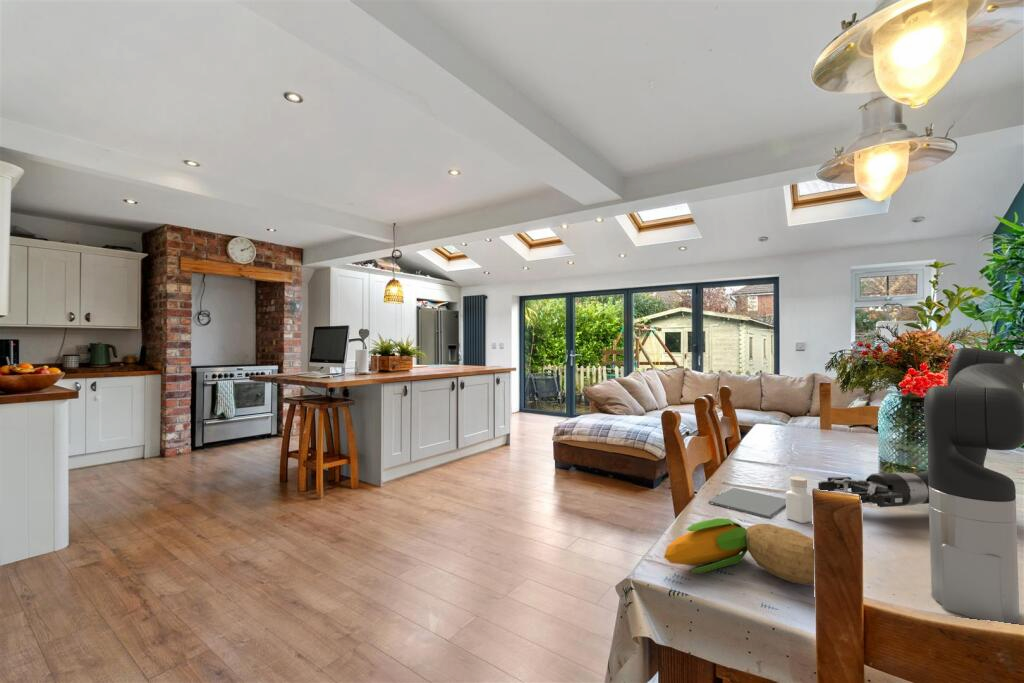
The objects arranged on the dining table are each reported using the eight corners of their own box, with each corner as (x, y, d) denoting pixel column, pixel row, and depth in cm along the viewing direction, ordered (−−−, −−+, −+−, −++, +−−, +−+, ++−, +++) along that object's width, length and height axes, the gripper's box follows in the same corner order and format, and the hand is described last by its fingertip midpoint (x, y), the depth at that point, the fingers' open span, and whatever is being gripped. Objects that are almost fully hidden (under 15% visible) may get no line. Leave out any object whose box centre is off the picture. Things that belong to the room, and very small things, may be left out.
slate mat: (769, 518, 102) (769, 515, 102) (708, 503, 112) (708, 500, 112) (790, 502, 112) (790, 499, 113) (733, 489, 123) (733, 487, 123)
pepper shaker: (813, 522, 100) (813, 479, 100) (801, 524, 98) (801, 481, 98) (796, 515, 103) (795, 475, 104) (784, 518, 102) (784, 477, 102)
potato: (766, 554, 84) (766, 512, 84) (847, 591, 71) (846, 541, 71) (730, 564, 80) (729, 520, 80) (808, 605, 67) (807, 552, 67)
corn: (760, 519, 81) (682, 539, 73) (764, 561, 81) (685, 587, 72) (726, 509, 88) (650, 527, 79) (728, 548, 87) (652, 571, 79)
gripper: (867, 465, 111) (809, 467, 109) (927, 482, 97) (862, 485, 95) (868, 495, 111) (810, 498, 109) (928, 516, 97) (863, 520, 95)
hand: (834, 492), depth 102 cm, fingers open, 8 cm apart
